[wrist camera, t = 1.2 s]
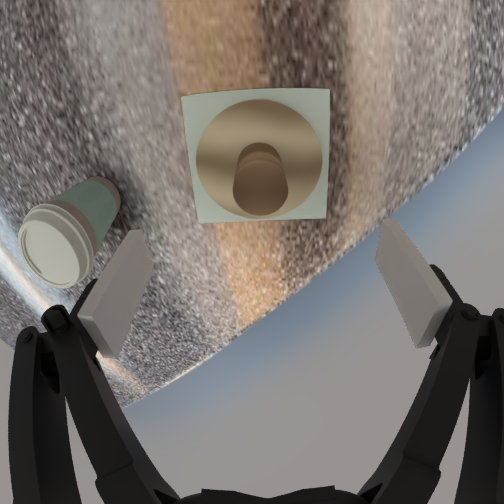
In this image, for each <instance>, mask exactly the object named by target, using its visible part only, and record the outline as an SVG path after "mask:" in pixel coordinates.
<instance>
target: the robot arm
mask: <svg viewBox="0 0 504 504" xmlns="http://www.w3.org/2000/svg"><path fill="white" fill-rule="evenodd" d="M375 262H376V264H377V266H378V268H379V270H380V272H381V274H382V276H383V278H384V280H385V282H386V284H387V286H388V288H389V290H390V292H391V294H392V296H393V298H394V300H395V302H396V304H397V306H398V309H399V311H400V313H401V315H402V317H403V320H404V322H405V324H406V326H407V329H408V331H409V333H410V335H411V338H412V340H413V342H414V345H415V347H416V348H421V347H426V346H430V344H431V343H432V341H433V339H434V337H435V338H436V340H437V343H438V344H437V346H436V347H435V349H434V351H433V352H432V354H431V356H430V358H429V359H431V361H430V363H429V366H428V369H427V371H426V374H425V376H424V379H423V381H422V384H421V386H420V388H419V390H418V393H417V395H416V397H415V399H414V402H413V404H412V406H411V408H410V410H409V412H408V414H407V416H406V418H405V420H404V422H403V424H402V426H401V428H400V430H399V432H398V434H397V436H396V438H395V439H394V441H393V443H392V445H391V447H390V448H389V450H388V452H387V454H386V455H385V457H384V458H383V460H382V462H381V463H380V465H379V467H378V468H377V470H376V471H375V473H374V474H373V475H372V477H370V479H369V480H368V481H367V482H366V483H365V484H364V486H363V487H362V488H361V490H360V491H359V493H358V494H357V495H356V494H353V493H350V492H347V491H342V490H335V487H334V485H333V486H327V487H318V488H309V489H301V490H298V491H295V492H292V493H288V494H285V495H281V496H277V497H273V498H262V497H257V496H252V495H248V494H244V493H240V492H236V491H225V490H210V489H202V492H201V493H198V494H194V495H190V496H187V497H184V498H182V499H180V497H179V496H178V495H177V494H176V492H175V491H174V490H173V489H172V488H171V486H169V484H168V483H167V482H166V481H165V480H164V479H163V478H162V477H161V475H160V474H159V472H158V471H157V470H156V468H155V466H154V465H153V463H152V462H151V460H150V459H149V457H148V455H147V454H146V452H145V451H144V449H143V448H142V446H141V444H140V443H139V441H138V439H137V437H136V436H135V434H134V432H133V431H132V429H131V427H130V425H129V423H128V421H127V420H126V418H125V416H124V414H123V412H122V410H121V408H120V406H119V404H118V402H117V400H116V398H115V396H114V394H113V392H112V390H111V388H110V386H109V384H108V381H107V379H106V377H105V375H104V372H103V370H102V368H101V366H100V363H99V361H98V359H97V358H96V353H97V351H98V350H99V352H100V353H101V355H102V356H103V357H104V358H112V359H117V358H118V356H119V353H120V350H121V348H122V345H123V342H124V340H125V337H126V334H127V332H128V329H129V327H130V324H131V322H132V319H133V317H134V314H135V312H136V309H137V307H138V304H139V302H140V300H141V297H142V295H143V293H144V290H145V288H146V286H147V283H148V281H149V279H150V276H151V274H152V272H153V270H154V269H153V266H152V262H151V259H150V256H149V252H148V249H147V245H146V242H145V238H144V234H143V231H142V229H139V230H130V231H129V232H128V234H127V235H126V237H125V238H124V240H123V241H122V243H121V244H120V246H119V247H118V249H117V250H116V252H115V253H114V255H113V256H112V258H111V259H110V261H109V262H108V264H107V266H106V267H105V269H104V270H103V272H102V274H101V275H100V277H99V278H98V279H93V280H92V281H91V282H90V283H89V284H88V285H87V286H86V288H85V289H84V291H83V294H81V296H80V297H79V300H78V301H77V302H76V304H75V306H74V308H73V309H72V311H71V313H70V314H69V313H68V312H67V310H66V308H65V307H64V306H63V305H54V306H52V307H50V308H49V309H47V310H46V311H45V312H44V314H43V315H42V317H41V322H42V324H43V325H44V327H45V328H46V330H47V331H48V332H44V333H39V331H38V330H37V329H36V327H34V326H29V327H27V328H25V329H23V330H22V331H21V332H20V334H19V335H18V337H17V341H16V347H15V353H14V360H13V367H12V375H11V385H10V398H9V420H8V432H9V433H8V439H9V440H8V442H9V463H10V474H11V483H12V491H13V498H14V499H13V504H82V503H81V499H80V494H79V490H78V486H77V481H76V477H75V472H74V467H73V461H72V455H71V448H70V441H69V434H68V426H67V415H66V403H65V396H66V399H67V403H68V405H69V409H70V411H71V414H72V417H73V420H74V423H75V425H76V428H77V430H78V433H79V436H80V438H81V440H82V443H83V446H84V448H85V450H86V453H87V455H88V457H89V459H90V461H91V464H92V466H93V468H94V470H95V472H96V474H97V479H96V481H95V485H96V488H97V490H98V492H99V494H100V496H101V498H102V500H103V502H104V503H105V504H427V503H428V501H429V499H430V498H431V496H432V493H433V492H434V490H435V488H436V486H437V484H438V481H439V479H440V476H441V471H440V470H439V465H440V462H441V460H442V458H443V456H444V454H445V451H446V449H447V446H448V444H449V441H450V439H451V436H452V433H453V431H454V428H455V425H456V423H457V419H458V417H459V414H460V411H461V407H462V404H463V401H464V398H465V394H466V390H467V387H468V383H469V379H470V398H469V416H468V427H467V436H466V444H465V451H464V457H463V463H462V469H461V474H460V479H459V483H458V488H457V493H456V497H455V502H454V504H504V309H503V308H497V309H495V311H494V312H493V314H492V316H487V315H480V313H479V311H478V310H477V309H476V308H475V307H474V306H472V305H470V304H467V303H463V301H462V300H461V298H460V297H459V295H458V294H457V292H456V291H455V289H454V288H453V286H452V285H450V282H449V280H448V279H446V276H445V275H444V273H443V272H442V270H440V269H439V268H438V267H437V266H435V265H429V264H428V263H427V261H426V260H425V259H424V257H423V256H422V254H421V253H420V252H419V250H418V249H417V248H416V246H415V245H414V244H413V242H412V241H411V240H410V238H409V237H408V236H407V234H406V233H405V232H404V230H403V229H402V228H401V227H400V225H399V224H398V223H397V222H396V220H395V219H382V224H381V230H380V235H379V241H378V246H377V251H376V256H375Z"/></svg>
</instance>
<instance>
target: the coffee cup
mask: <svg viewBox="0 0 504 504" xmlns="http://www.w3.org/2000/svg"><path fill="white" fill-rule="evenodd" d="M120 205H121V199H120V194H119V192H118V190H117V188H116V187H115V185H114V184H113V183H112V182H111V181H110V180H108V179H106V178H104V177H101V176H93V177H90V178H88V179H86V180H84V181H83V182H81V183H79V184H77V185H75V186H74V187H72V188H70V189H68V190H67V191H65V192H63V193H61V194H60V195H58V196H56V197H55V198H53V199H51V200H50V201H48V202H47V203H45V204H40V205H37V206H35V207H34V208H32V209H31V210H30V211H29V213H28V214H27V216H26V217H25V219H24V221H23V224H22V227H21V228H20V231H19V235H18V245H19V250H20V253H21V255H22V258H23V260H24V261H25V263H26V265H27V266H28V268H29V269H30V270H31V271H32V273H33V274H35V275H36V276H37V277H38V278H39V279H40V280H42V281H43V282H45V283H46V284H48V285H50V286H53V287H56V288H69V287H71V286H73V285H74V284H75V283H78V282H80V281H81V280H83V279H84V278H85V277H86V276H87V275H88V274H89V273H90V271H91V269H92V267H93V262H94V257H95V255H96V253H97V251H98V249H99V247H100V245H101V243H102V241H103V239H104V237H105V235H106V233H107V231H108V230H109V228H110V226H111V224H112V222H113V220H114V219H115V217H116V215H117V213H118V211H119V209H120Z"/></svg>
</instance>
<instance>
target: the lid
mask: <svg viewBox="0 0 504 504" xmlns="http://www.w3.org/2000/svg"><path fill="white" fill-rule="evenodd" d="M196 168H197V173H198V177H199V179H200V182H201V184H202V186H203V188H204V190H205V191H206V193H207V194H208V195H209V196H210V197H211V199H212V200H213V201H214V202H216V203H217V204H218V205H219V206H220V207H222V208H223V209H225V210H227V211H229V212H231V213H233V214H236V215H238V216H242V217H246V218H253V219H265V218H272V217H277V216H280V215H283V214H285V213H287V212H290V211H292V210H293V209H295V208H296V207H298V206H299V205H300V204H302V203H303V202H304V201H305V200H306V199H307V198H308V197H309V196H310V194H311V193H312V191H313V190H314V188H315V186H316V185H317V183H318V180H319V177H320V174H321V170H322V150H321V145H320V142H319V139H318V137H317V135H316V133H315V131H314V130H313V128H312V127H311V125H310V124H309V123H308V122H307V121H306V119H305V118H304V117H302V116H301V115H300V114H299V113H298V112H296V111H295V110H294V109H292V108H290V107H289V106H286V105H284V104H282V103H279V102H276V101H272V100H265V99H253V100H246V101H242V102H238V103H236V104H233V105H231V106H229V107H228V108H226V109H224V110H223V111H221V112H220V113H219V114H218V115H217V116H216V117H215V118H214V119H213V120H212V121H211V122H210V123H209V124H208V125H207V127H206V128H205V130H204V131H203V133H202V135H201V137H200V140H199V143H198V146H197V151H196Z"/></svg>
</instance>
